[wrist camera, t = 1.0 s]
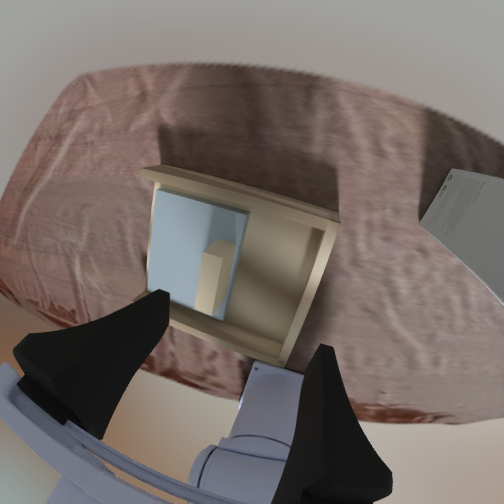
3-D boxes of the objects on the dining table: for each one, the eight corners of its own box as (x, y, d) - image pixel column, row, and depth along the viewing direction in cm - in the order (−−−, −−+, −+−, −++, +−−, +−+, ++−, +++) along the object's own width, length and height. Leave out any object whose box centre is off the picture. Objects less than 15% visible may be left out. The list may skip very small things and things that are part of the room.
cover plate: (226, 314, 26) (209, 340, 23) (153, 285, 28) (129, 304, 24) (250, 211, 22) (233, 225, 19) (163, 187, 24) (134, 196, 20)
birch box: (290, 344, 27) (283, 368, 24) (150, 291, 29) (131, 307, 26) (339, 212, 22) (340, 223, 18) (163, 164, 24) (140, 168, 21)
